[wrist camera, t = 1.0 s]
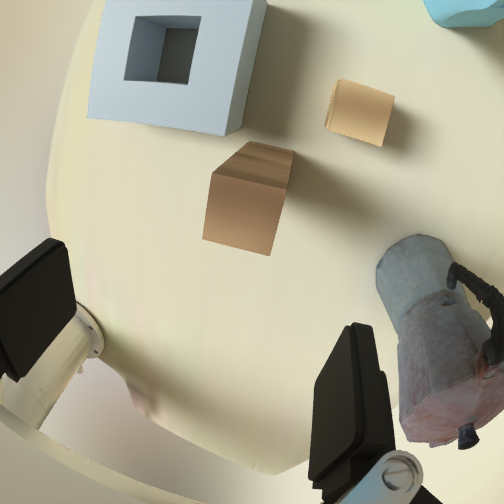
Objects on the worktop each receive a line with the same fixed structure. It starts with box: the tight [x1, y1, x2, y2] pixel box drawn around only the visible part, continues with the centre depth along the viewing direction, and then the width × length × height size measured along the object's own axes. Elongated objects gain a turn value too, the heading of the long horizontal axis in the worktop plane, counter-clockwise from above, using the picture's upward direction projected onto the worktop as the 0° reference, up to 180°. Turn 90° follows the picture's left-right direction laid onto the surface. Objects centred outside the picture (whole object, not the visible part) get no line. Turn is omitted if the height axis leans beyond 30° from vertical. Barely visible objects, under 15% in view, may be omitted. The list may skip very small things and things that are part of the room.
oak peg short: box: [325, 79, 395, 147], centre depth 22 cm, size 4×4×5 cm
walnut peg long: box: [202, 141, 294, 256], centre depth 22 cm, size 4×4×12 cm
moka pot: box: [376, 234, 504, 450], centre depth 21 cm, size 10×15×20 cm, turn 14°
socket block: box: [87, 0, 268, 136], centre depth 21 cm, size 12×12×6 cm
